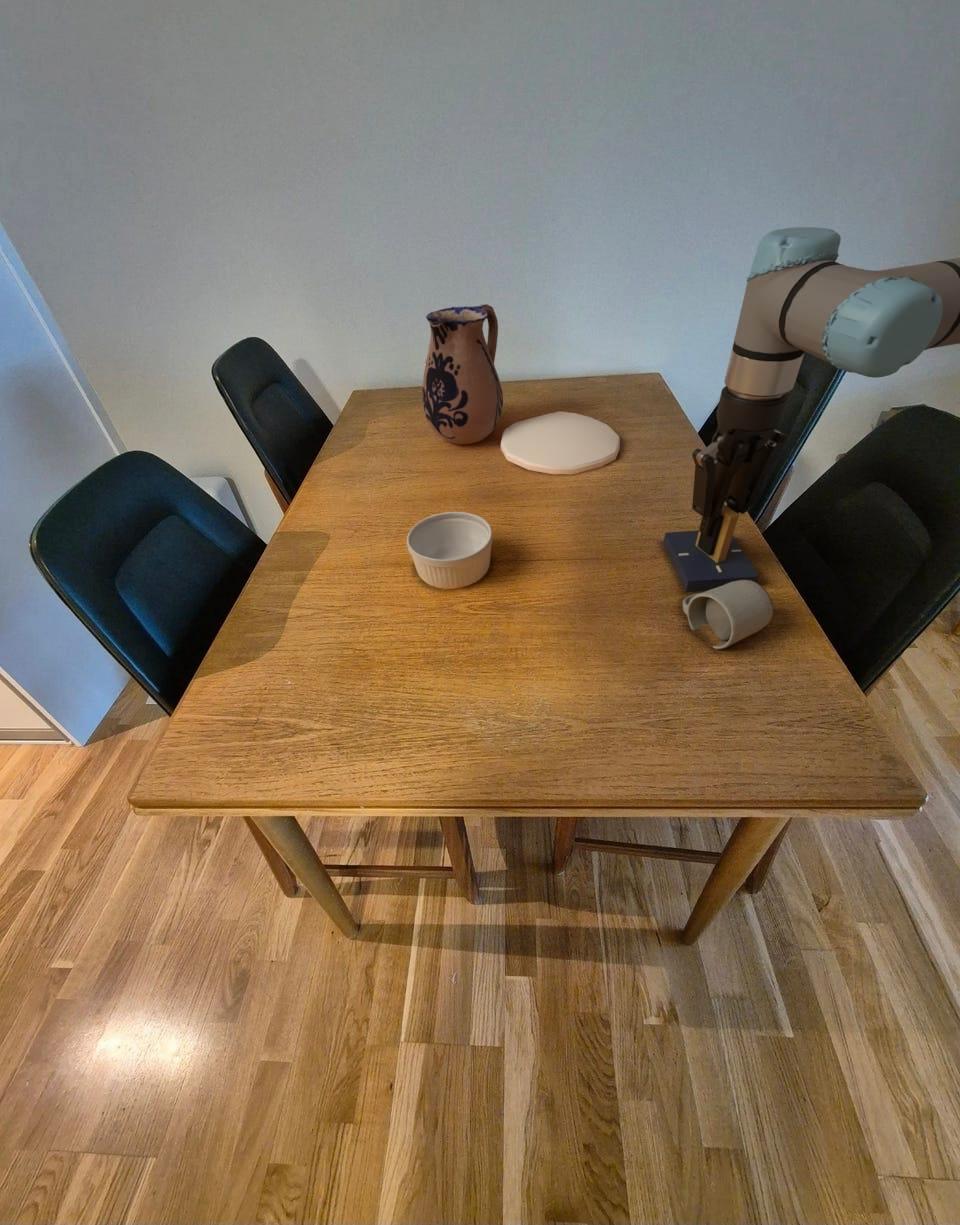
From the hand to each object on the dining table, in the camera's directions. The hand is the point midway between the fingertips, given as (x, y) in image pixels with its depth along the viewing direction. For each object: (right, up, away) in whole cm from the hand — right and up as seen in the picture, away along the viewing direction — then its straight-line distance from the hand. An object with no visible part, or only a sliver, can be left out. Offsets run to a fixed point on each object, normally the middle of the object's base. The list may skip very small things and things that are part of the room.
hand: (711, 548), depth 79 cm
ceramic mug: (-2, -12, -6) cm, 13 cm away
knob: (0, -1, +1) cm, 1 cm away
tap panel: (0, -3, +3) cm, 4 cm away
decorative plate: (-18, +25, +35) cm, 46 cm away
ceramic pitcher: (-37, +32, +43) cm, 65 cm away
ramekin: (-39, -3, +7) cm, 39 cm away
